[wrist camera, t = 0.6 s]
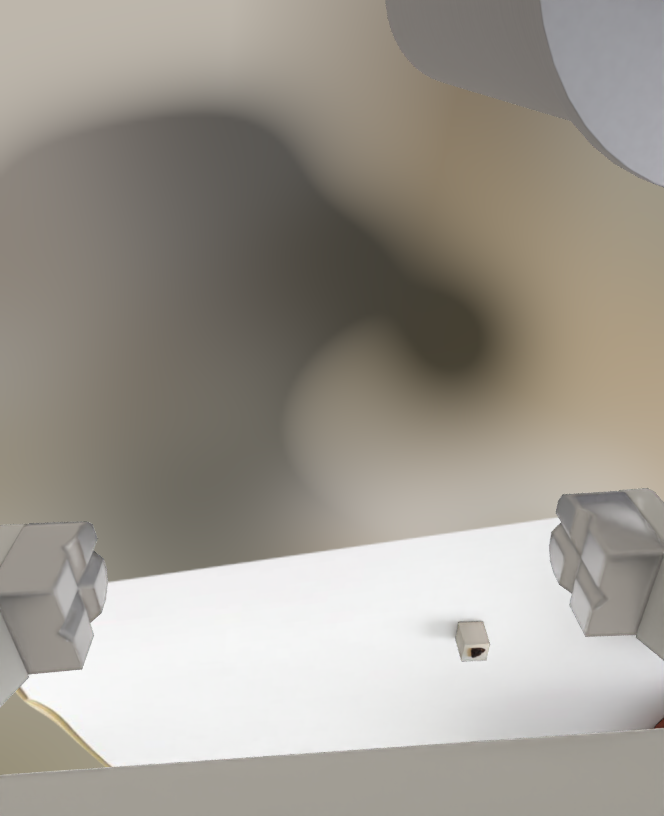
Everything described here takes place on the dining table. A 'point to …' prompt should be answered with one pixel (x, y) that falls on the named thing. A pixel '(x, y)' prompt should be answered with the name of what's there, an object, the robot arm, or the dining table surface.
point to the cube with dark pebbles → (472, 641)
